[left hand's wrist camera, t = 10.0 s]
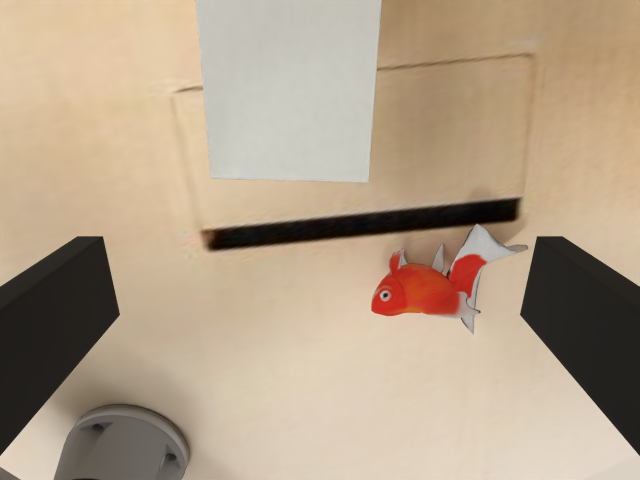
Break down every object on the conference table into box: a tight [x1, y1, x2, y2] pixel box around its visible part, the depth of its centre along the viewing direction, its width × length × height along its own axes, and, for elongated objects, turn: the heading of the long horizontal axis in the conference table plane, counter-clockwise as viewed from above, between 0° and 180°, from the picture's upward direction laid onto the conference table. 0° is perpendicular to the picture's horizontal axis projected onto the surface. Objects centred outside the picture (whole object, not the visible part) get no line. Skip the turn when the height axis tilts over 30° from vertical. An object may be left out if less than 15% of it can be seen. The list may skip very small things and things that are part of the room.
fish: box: [371, 224, 528, 335], centre depth 38 cm, size 11×16×10 cm
